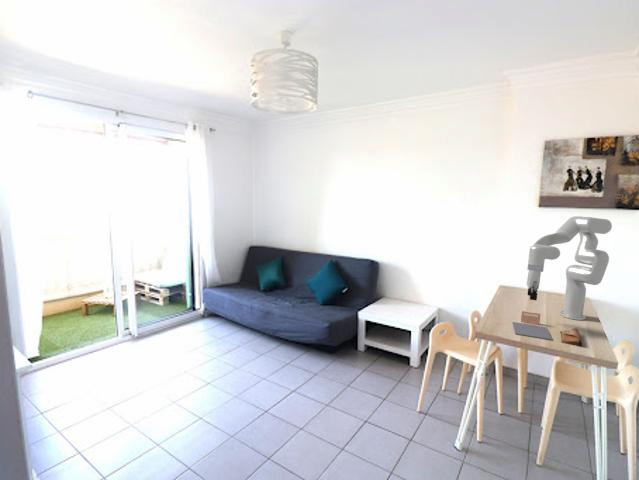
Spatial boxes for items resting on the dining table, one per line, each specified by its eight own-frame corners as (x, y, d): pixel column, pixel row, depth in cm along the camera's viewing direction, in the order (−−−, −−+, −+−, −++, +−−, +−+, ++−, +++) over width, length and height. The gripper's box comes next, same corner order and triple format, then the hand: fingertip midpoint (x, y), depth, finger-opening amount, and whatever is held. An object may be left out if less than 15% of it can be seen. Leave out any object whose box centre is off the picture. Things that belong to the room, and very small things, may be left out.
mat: (512, 322, 190) (512, 321, 190) (545, 328, 183) (545, 327, 183) (515, 334, 174) (515, 333, 174) (552, 340, 167) (552, 339, 167)
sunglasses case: (558, 330, 180) (567, 321, 177) (571, 339, 177) (581, 331, 174) (560, 342, 165) (570, 333, 162) (575, 352, 162) (585, 343, 159)
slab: (520, 321, 193) (521, 310, 193) (538, 323, 190) (540, 312, 189) (520, 322, 192) (521, 311, 191) (539, 324, 188) (540, 313, 187)
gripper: (525, 264, 196) (522, 293, 198) (529, 269, 180) (526, 300, 182) (540, 266, 193) (537, 295, 195) (546, 271, 177) (542, 302, 179)
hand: (531, 297), depth 189 cm, fingers open, 9 cm apart
